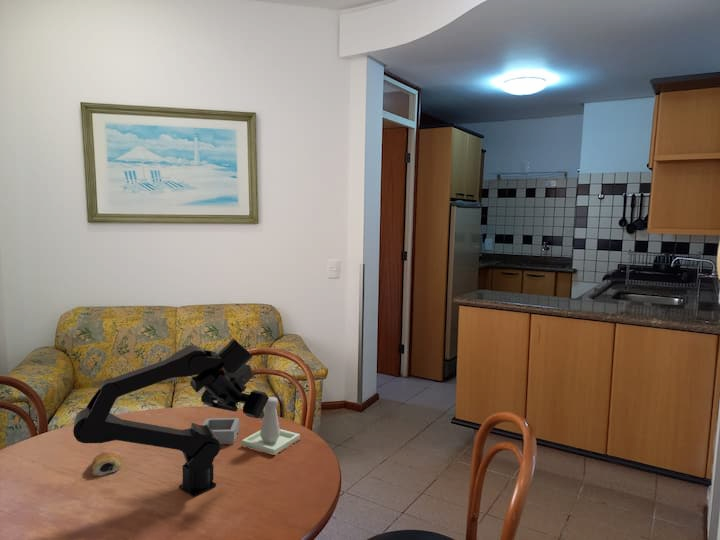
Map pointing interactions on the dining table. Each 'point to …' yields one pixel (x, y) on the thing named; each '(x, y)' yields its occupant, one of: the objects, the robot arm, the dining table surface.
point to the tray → (282, 442)
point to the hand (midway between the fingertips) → (249, 413)
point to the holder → (224, 428)
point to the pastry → (105, 464)
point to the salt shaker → (270, 422)
